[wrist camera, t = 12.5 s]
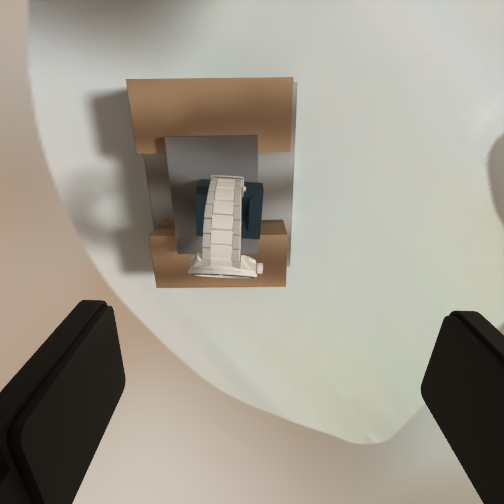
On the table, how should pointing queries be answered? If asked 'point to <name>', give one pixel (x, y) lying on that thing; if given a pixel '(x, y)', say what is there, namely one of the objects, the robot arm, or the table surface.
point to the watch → (227, 226)
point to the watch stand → (215, 166)
